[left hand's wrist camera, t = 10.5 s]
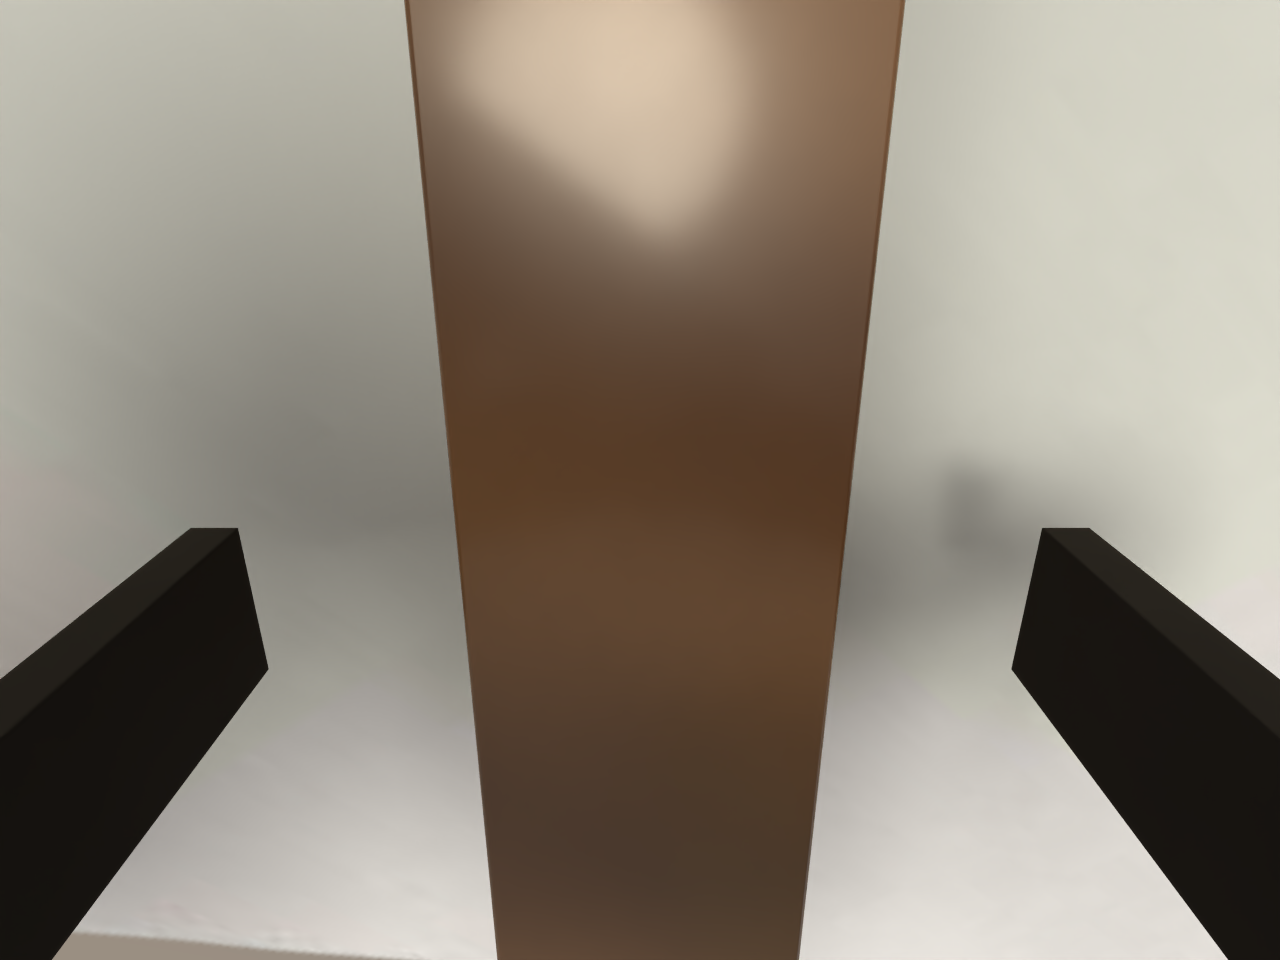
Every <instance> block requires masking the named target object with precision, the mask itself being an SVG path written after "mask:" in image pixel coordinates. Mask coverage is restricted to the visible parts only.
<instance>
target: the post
mask: <svg viewBox="0 0 1280 960" xmlns="http://www.w3.org/2000/svg"><path fill="white" fill-rule="evenodd" d="M404 3H405V14H406V24H407V34H408V44H409V55H410V65H411V75H412V86H413V96H414V106H415V116H416V127H417V137H418V147H419V158H420V168H421V178H422V188H423V199H424V209H425V219H426V230H427V240H428V250H429V260H430V271H431V281H432V291H433V301H434V312H435V322H436V332H437V343H438V353H439V363H440V373H441V384H442V394H443V404H444V415H445V425H446V435H447V445H448V456H449V466H450V476H451V487H452V497H453V507H454V517H455V528H456V538H457V548H458V559H459V569H460V579H461V589H462V600H463V610H464V620H465V631H466V641H467V651H468V661H469V672H470V682H471V692H472V703H473V713H474V723H475V733H476V744H477V754H478V764H479V774H480V785H481V795H482V805H483V816H484V826H485V836H486V846H487V857H488V867H489V877H490V888H491V898H492V908H493V918H494V929H495V939H496V949H497V960H799V954H800V945H801V936H802V927H803V918H804V909H805V900H806V891H807V882H808V873H809V864H810V855H811V846H812V837H813V828H814V819H815V810H816V801H817V792H818V783H819V774H820V765H821V756H822V747H823V738H824V729H825V720H826V711H827V702H828V693H829V684H830V675H831V666H832V657H833V648H834V639H835V630H836V621H837V612H838V603H839V594H840V585H841V576H842V567H843V558H844V549H845V540H846V531H847V522H848V513H849V504H850V495H851V486H852V477H853V468H854V459H855V450H856V441H857V432H858V423H859V414H860V405H861V396H862V387H863V378H864V369H865V360H866V351H867V342H868V332H869V323H870V314H871V305H872V296H873V287H874V278H875V269H876V260H877V251H878V242H879V233H880V224H881V215H882V206H883V197H884V188H885V179H886V170H887V161H888V152H889V143H890V134H891V125H892V116H893V107H894V98H895V89H896V80H897V71H898V62H899V53H900V44H901V35H902V26H903V17H904V8H905V0H404Z"/></svg>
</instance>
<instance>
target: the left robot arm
mask: <svg viewBox="0 0 1280 960" xmlns="http://www.w3.org/2000/svg"><path fill="white" fill-rule="evenodd" d="M267 671H268V664H267V660H266V655H265V651H264V646H263V641H262V637H261V632H260V628H259V623H258V619H257V614H256V609H255V605H254V600H253V596H252V591H251V586H250V582H249V577H248V573H247V568H246V564H245V559H244V554H243V550H242V545H241V541H240V536H239V531H238V528H190V529H189V530H188V531H186V532H185V533H184V534H183V535H181V536H180V537H179V538H178V539H176V540H175V541H174V542H173V543H171V544H170V545H169V546H168V547H166V548H165V549H164V550H163V551H161V552H160V553H159V554H157V555H156V556H155V557H154V558H152V559H151V560H150V561H149V562H147V563H146V564H145V565H144V566H142V567H141V568H140V569H139V570H137V571H136V572H135V573H134V574H132V575H131V576H130V577H129V578H127V579H126V580H125V581H123V582H122V583H121V584H120V585H118V586H117V587H116V588H115V589H113V590H112V591H111V592H110V593H108V594H107V595H106V596H105V597H103V598H102V599H101V600H100V601H98V602H97V603H96V604H95V605H93V606H92V607H91V608H89V609H88V610H87V611H86V612H84V613H83V614H82V615H81V616H79V617H78V618H77V619H76V620H74V621H73V622H72V623H71V624H69V625H68V626H67V627H66V628H64V629H63V630H62V631H60V632H59V633H58V634H57V635H55V636H54V637H53V638H52V639H50V640H49V641H48V642H47V643H45V644H44V645H43V646H42V647H40V648H39V649H38V650H37V651H35V652H34V653H33V654H32V655H30V656H29V657H28V658H26V659H25V660H24V661H23V662H21V663H20V664H19V665H18V666H16V667H15V668H14V669H13V670H11V671H10V672H9V673H8V674H6V675H5V676H4V677H3V678H1V679H0V960H52V959H53V957H54V956H55V955H56V953H57V952H58V951H59V949H60V948H61V947H62V945H63V944H64V943H65V941H66V940H67V939H68V937H69V936H70V935H71V933H72V932H73V931H74V929H75V928H76V927H77V925H78V924H79V923H80V921H81V920H82V919H83V917H84V916H85V915H86V913H87V912H88V910H89V909H90V908H91V906H92V905H93V904H94V902H95V901H96V900H97V898H98V897H99V896H100V894H101V893H102V892H103V890H104V889H105V888H106V886H107V885H108V884H109V882H110V881H111V880H112V878H113V877H114V876H115V874H116V873H117V872H118V870H119V869H120V868H121V866H122V865H123V864H124V862H125V861H126V860H127V858H128V857H129V856H130V854H131V853H132V852H133V850H134V849H135V848H136V846H137V845H138V843H139V842H140V841H141V839H142V838H143V837H144V835H145V834H146V833H147V831H148V830H149V829H150V827H151V826H152V825H153V823H154V822H155V821H156V819H157V818H158V817H159V815H160V814H161V813H162V811H163V810H164V809H165V807H166V806H167V805H168V803H169V802H170V801H171V799H172V798H173V797H174V795H175V794H176V793H177V791H178V790H179V789H180V787H181V786H182V785H183V783H184V782H185V780H186V779H187V778H188V776H189V775H190V774H191V772H192V771H193V770H194V768H195V767H196V766H197V764H198V763H199V762H200V760H201V759H202V758H203V756H204V755H205V754H206V752H207V751H208V750H209V748H210V747H211V746H212V744H213V743H214V742H215V740H216V739H217V738H218V736H219V735H220V734H221V732H222V731H223V730H224V728H225V727H226V726H227V724H228V723H229V722H230V720H231V719H232V718H233V716H234V715H235V713H236V712H237V711H238V709H239V708H240V707H241V705H242V704H243V703H244V701H245V700H246V699H247V697H248V696H249V695H250V693H251V692H252V691H253V689H254V688H255V687H256V685H257V684H258V683H259V681H260V680H261V679H262V677H263V676H264V675H265V673H266V672H267ZM1012 671H1013V672H1014V673H1015V675H1016V676H1017V677H1018V679H1019V680H1020V681H1021V683H1022V684H1023V685H1024V687H1025V688H1026V689H1027V691H1028V692H1029V693H1030V695H1031V696H1032V697H1033V699H1034V700H1035V701H1036V703H1037V704H1038V705H1039V707H1040V708H1041V709H1042V711H1043V712H1044V713H1045V715H1046V716H1047V718H1048V719H1049V720H1050V722H1051V723H1052V724H1053V726H1054V727H1055V728H1056V730H1057V731H1058V732H1059V734H1060V735H1061V736H1062V738H1063V739H1064V740H1065V742H1066V743H1067V744H1068V746H1069V747H1070V748H1071V750H1072V751H1073V752H1074V754H1075V755H1076V756H1077V758H1078V759H1079V760H1080V762H1081V763H1082V764H1083V766H1084V767H1085V768H1086V770H1087V771H1088V772H1089V774H1090V775H1091V776H1092V778H1093V779H1094V780H1095V782H1096V783H1097V785H1098V786H1099V787H1100V789H1101V790H1102V791H1103V793H1104V794H1105V795H1106V797H1107V798H1108V799H1109V801H1110V802H1111V803H1112V805H1113V806H1114V807H1115V809H1116V810H1117V811H1118V813H1119V814H1120V815H1121V817H1122V818H1123V819H1124V821H1125V822H1126V823H1127V825H1128V826H1129V827H1130V829H1131V830H1132V831H1133V833H1134V834H1135V835H1136V837H1137V838H1138V839H1139V841H1140V842H1141V843H1142V845H1143V846H1144V848H1145V849H1146V850H1147V852H1148V853H1149V854H1150V856H1151V857H1152V858H1153V860H1154V861H1155V862H1156V864H1157V865H1158V866H1159V868H1160V869H1161V870H1162V872H1163V873H1164V874H1165V876H1166V877H1167V878H1168V880H1169V881H1170V882H1171V884H1172V885H1173V886H1174V888H1175V889H1176V890H1177V892H1178V893H1179V894H1180V896H1181V897H1182V898H1183V900H1184V901H1185V902H1186V904H1187V905H1188V906H1189V908H1190V909H1191V910H1192V912H1193V913H1194V915H1195V916H1196V917H1197V919H1198V920H1199V921H1200V923H1201V924H1202V925H1203V927H1204V928H1205V929H1206V931H1207V932H1208V933H1209V935H1210V936H1211V937H1212V939H1213V940H1214V941H1215V943H1216V944H1217V945H1218V947H1219V948H1220V949H1221V951H1222V952H1223V953H1224V955H1225V956H1226V957H1227V959H1228V960H1280V679H1279V678H1277V677H1276V676H1275V675H1274V674H1272V673H1271V672H1270V671H1269V670H1267V669H1266V668H1265V667H1264V666H1262V665H1261V664H1260V663H1259V662H1257V661H1256V660H1255V659H1254V658H1252V657H1251V656H1250V655H1248V654H1247V653H1246V652H1245V651H1243V650H1242V649H1241V648H1240V647H1238V646H1237V645H1236V644H1235V643H1233V642H1232V641H1231V640H1230V639H1228V638H1227V637H1226V636H1225V635H1223V634H1222V633H1221V632H1219V631H1218V630H1217V629H1216V628H1214V627H1213V626H1212V625H1211V624H1209V623H1208V622H1207V621H1206V620H1204V619H1203V618H1202V617H1201V616H1199V615H1198V614H1197V613H1196V612H1194V611H1193V610H1192V609H1191V608H1189V607H1188V606H1187V605H1185V604H1184V603H1183V602H1182V601H1180V600H1179V599H1178V598H1177V597H1175V596H1174V595H1173V594H1172V593H1170V592H1169V591H1168V590H1167V589H1165V588H1164V587H1163V586H1162V585H1160V584H1159V583H1158V582H1157V581H1155V580H1154V579H1153V578H1151V577H1150V576H1149V575H1148V574H1146V573H1145V572H1144V571H1143V570H1141V569H1140V568H1139V567H1138V566H1136V565H1135V564H1134V563H1133V562H1131V561H1130V560H1129V559H1128V558H1126V557H1125V556H1124V555H1123V554H1121V553H1120V552H1119V551H1117V550H1116V549H1115V548H1114V547H1112V546H1111V545H1110V544H1109V543H1107V542H1106V541H1105V540H1104V539H1102V538H1101V537H1100V536H1099V535H1097V534H1096V533H1095V532H1094V531H1092V530H1091V529H1090V528H1042V531H1041V536H1040V541H1039V545H1038V550H1037V554H1036V559H1035V564H1034V568H1033V573H1032V577H1031V582H1030V586H1029V591H1028V596H1027V600H1026V605H1025V609H1024V614H1023V619H1022V623H1021V628H1020V632H1019V637H1018V641H1017V646H1016V651H1015V655H1014V660H1013V664H1012Z"/></svg>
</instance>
